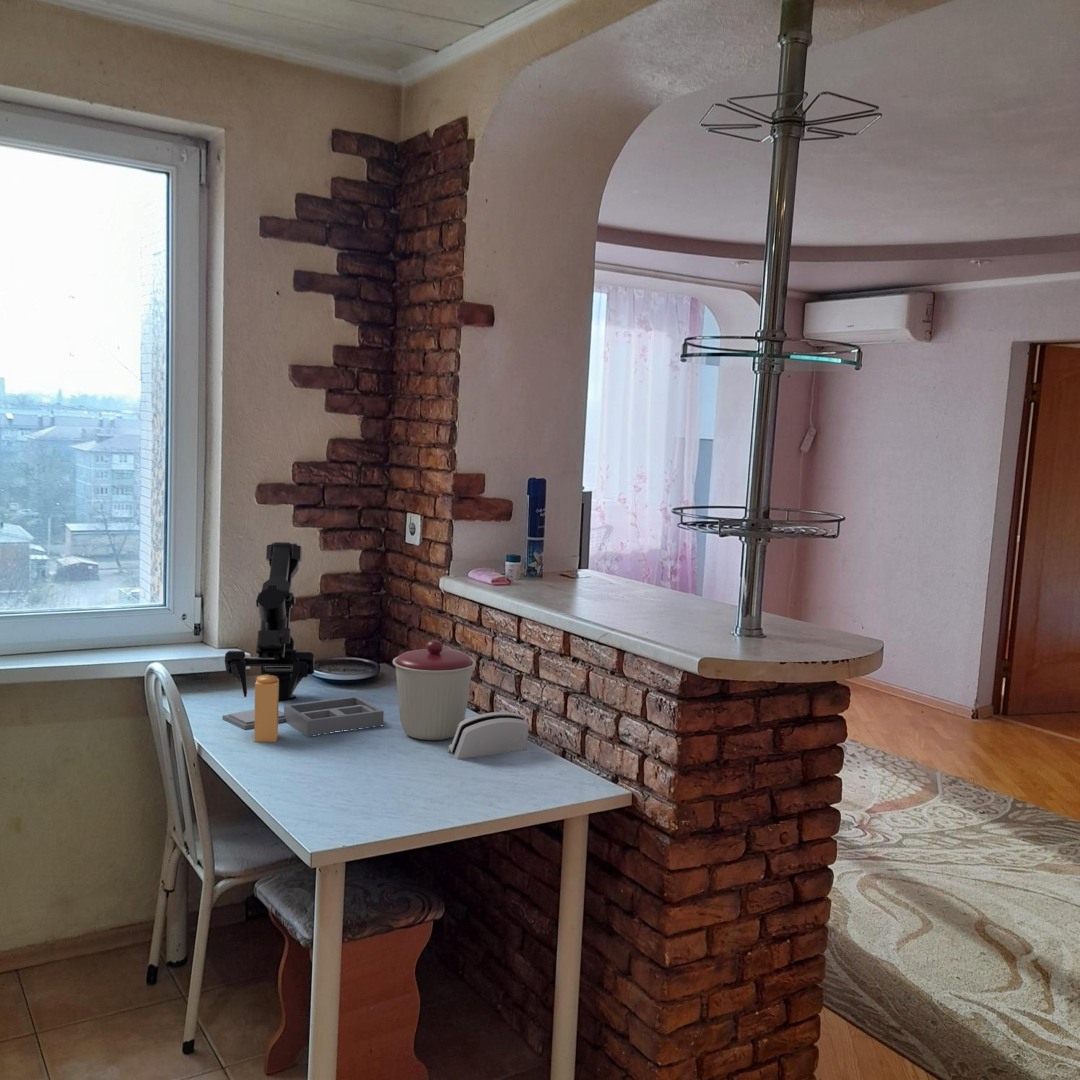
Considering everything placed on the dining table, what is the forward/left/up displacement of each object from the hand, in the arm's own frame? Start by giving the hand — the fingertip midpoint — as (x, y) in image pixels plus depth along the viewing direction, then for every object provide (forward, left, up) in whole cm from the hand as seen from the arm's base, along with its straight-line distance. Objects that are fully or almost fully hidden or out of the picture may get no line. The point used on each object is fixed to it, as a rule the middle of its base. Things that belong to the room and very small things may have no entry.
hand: (267, 696), depth 220 cm
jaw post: (+1, 0, -9) cm, 9 cm away
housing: (-3, +17, -9) cm, 19 cm away
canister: (+14, +33, -9) cm, 37 cm away
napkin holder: (+31, +37, -9) cm, 49 cm away
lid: (-13, +3, -9) cm, 16 cm away
